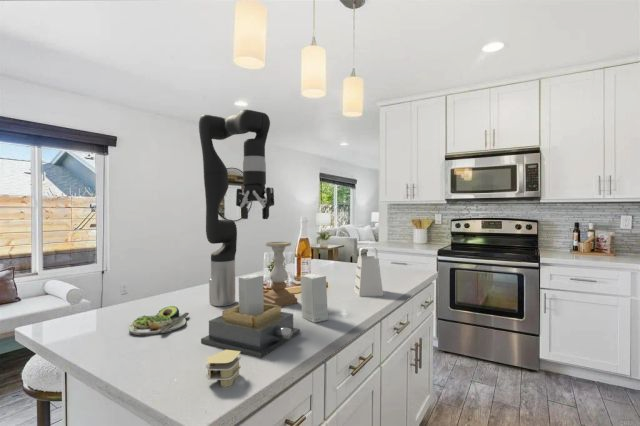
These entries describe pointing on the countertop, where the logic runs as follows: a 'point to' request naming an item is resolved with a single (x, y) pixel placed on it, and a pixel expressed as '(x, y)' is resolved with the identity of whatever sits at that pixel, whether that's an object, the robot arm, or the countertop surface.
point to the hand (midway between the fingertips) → (254, 219)
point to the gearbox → (251, 330)
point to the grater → (368, 275)
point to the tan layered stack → (223, 367)
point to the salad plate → (159, 322)
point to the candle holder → (279, 278)
